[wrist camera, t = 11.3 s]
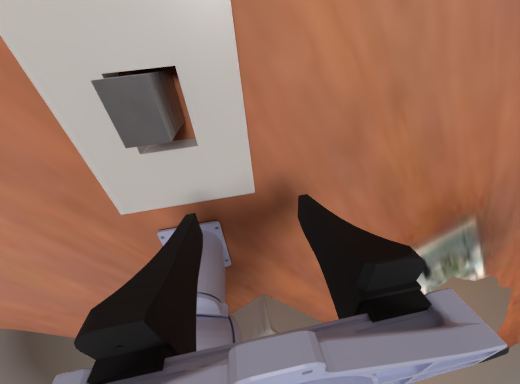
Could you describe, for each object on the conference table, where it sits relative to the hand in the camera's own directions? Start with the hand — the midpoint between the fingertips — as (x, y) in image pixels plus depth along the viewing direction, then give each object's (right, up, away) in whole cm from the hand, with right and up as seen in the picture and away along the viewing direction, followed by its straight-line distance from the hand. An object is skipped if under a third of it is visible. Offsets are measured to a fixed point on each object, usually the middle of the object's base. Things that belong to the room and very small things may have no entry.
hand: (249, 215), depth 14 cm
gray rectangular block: (-8, +10, +3) cm, 13 cm away
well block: (-8, +9, +4) cm, 13 cm away
